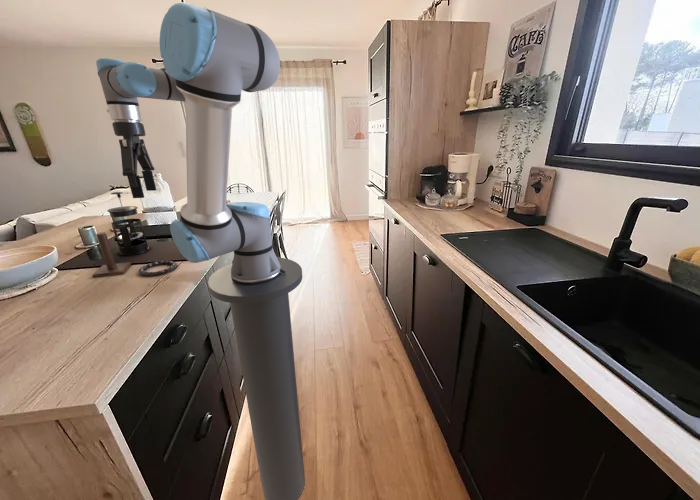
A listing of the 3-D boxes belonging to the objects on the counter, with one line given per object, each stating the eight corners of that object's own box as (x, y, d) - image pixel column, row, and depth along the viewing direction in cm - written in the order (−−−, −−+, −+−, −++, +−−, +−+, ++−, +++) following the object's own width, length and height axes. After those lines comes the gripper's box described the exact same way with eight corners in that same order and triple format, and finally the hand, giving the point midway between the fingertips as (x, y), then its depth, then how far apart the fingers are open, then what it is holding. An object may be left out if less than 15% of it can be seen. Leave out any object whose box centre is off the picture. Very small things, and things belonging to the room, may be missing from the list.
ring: (179, 261, 102) (178, 258, 102) (172, 273, 93) (171, 270, 92) (145, 265, 99) (144, 262, 98) (135, 278, 90) (134, 275, 89)
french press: (124, 248, 115) (107, 190, 106) (152, 245, 118) (137, 189, 110) (115, 258, 104) (94, 195, 96) (145, 255, 108) (128, 194, 100)
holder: (131, 264, 100) (120, 228, 95) (123, 273, 93) (110, 235, 88) (103, 267, 97) (91, 231, 93) (92, 277, 90) (78, 238, 86)
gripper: (127, 123, 94) (143, 188, 102) (92, 119, 72) (116, 202, 80) (153, 123, 97) (167, 187, 104) (127, 120, 75) (147, 200, 82)
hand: (145, 194), depth 92 cm, fingers open, 13 cm apart
